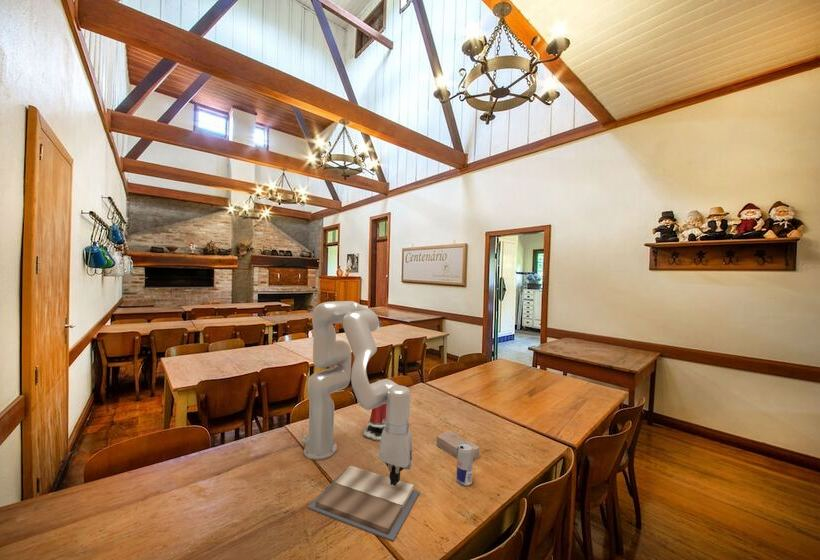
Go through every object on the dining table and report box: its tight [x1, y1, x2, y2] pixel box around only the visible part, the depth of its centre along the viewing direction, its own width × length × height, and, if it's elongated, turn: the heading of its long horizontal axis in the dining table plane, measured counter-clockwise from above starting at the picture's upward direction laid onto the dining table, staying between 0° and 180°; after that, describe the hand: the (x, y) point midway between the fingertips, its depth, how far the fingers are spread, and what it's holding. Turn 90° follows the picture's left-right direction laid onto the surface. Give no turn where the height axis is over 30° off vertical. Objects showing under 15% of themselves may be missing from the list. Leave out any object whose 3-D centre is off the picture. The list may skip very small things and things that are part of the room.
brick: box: [436, 430, 480, 462], centre depth 123 cm, size 17×8×5 cm, turn 41°
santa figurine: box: [363, 379, 387, 442], centre depth 137 cm, size 17×14×25 cm
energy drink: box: [455, 443, 474, 487], centre depth 105 cm, size 5×5×12 cm
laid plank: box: [316, 483, 402, 534], centre depth 90 cm, size 24×9×2 cm, turn 68°
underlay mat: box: [307, 468, 421, 542], centre depth 94 cm, size 28×20×1 cm
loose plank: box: [335, 465, 414, 509], centre depth 98 cm, size 24×9×2 cm, turn 68°
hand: (394, 482), depth 98 cm, fingers closed
